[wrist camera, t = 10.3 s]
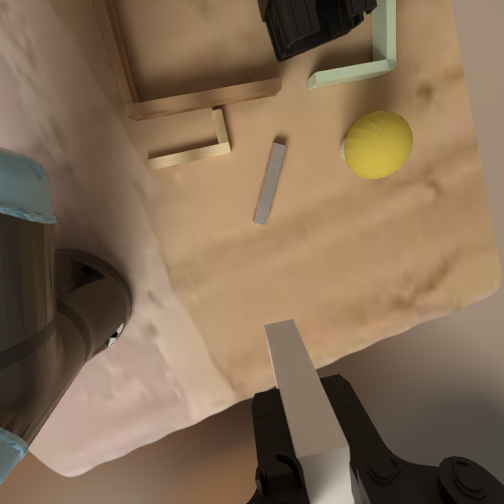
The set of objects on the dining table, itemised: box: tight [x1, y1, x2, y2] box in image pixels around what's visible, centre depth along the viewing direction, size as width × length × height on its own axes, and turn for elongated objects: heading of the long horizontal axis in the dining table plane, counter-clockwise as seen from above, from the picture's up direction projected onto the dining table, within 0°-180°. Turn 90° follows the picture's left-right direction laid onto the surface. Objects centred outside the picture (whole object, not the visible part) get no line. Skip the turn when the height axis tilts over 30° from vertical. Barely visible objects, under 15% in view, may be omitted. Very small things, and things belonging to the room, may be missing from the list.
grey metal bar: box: [253, 143, 287, 225], centre depth 35 cm, size 10×2×2 cm, turn 166°
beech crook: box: [146, 109, 231, 171], centre depth 33 cm, size 10×5×1 cm, turn 102°
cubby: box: [92, 0, 281, 121], centre depth 28 cm, size 16×15×4 cm
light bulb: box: [340, 111, 413, 179], centre depth 30 cm, size 7×7×10 cm
